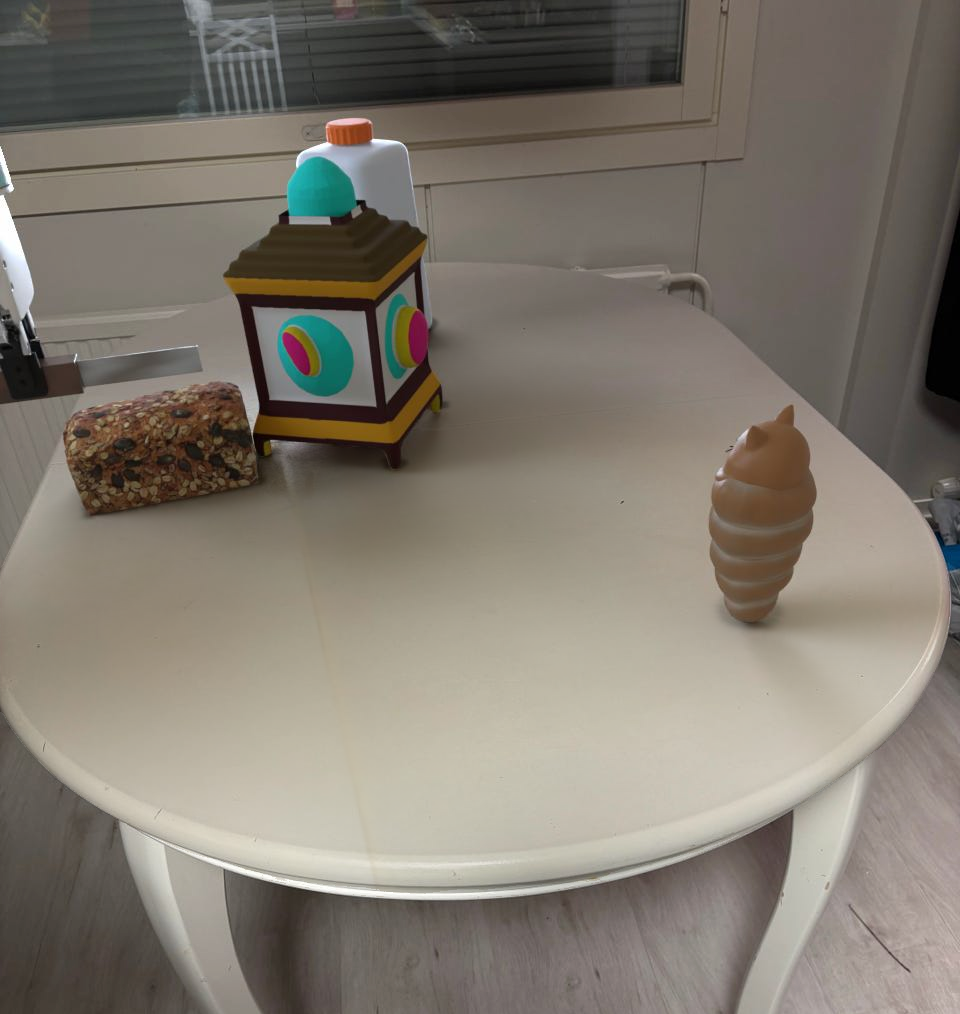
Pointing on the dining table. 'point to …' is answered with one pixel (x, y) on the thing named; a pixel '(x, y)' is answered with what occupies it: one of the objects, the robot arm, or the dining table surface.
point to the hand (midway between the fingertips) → (32, 389)
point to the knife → (108, 370)
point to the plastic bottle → (373, 174)
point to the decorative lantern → (335, 320)
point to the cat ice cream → (761, 515)
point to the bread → (160, 447)
